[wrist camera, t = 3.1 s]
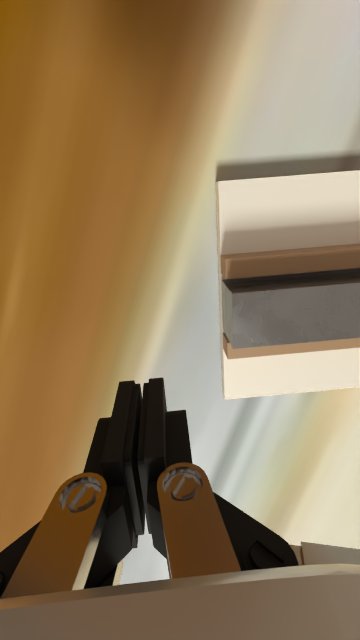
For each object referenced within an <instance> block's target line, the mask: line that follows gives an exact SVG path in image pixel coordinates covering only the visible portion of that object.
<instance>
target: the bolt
mask: <svg viewBox="0 0 360 640" xmlns="http://www.w3.org/2000/svg"><path fill="white" fill-rule="evenodd" d="M221 285H222V320H223V330H224V332H225V334H226V336H227V338H228V340H229V342H230V344H231V346H232V348H233V349H240V348H251V347H262V346H273V345H284V344H296V343H307V342H318V341H329V340H340V339H351V338H360V268H357V269H345V270H334V271H322V272H310V273H298V274H286V275H275V276H263V277H251V278H239V279H228V280H221Z"/></svg>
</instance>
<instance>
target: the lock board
mask: <svg viewBox="0 0 360 640" xmlns="http://www.w3.org/2000/svg"><path fill="white" fill-rule="evenodd" d="M216 212H217V243H218V274H219V306H220V337H221V369H222V393H223V396H224V399H225V400H226V399H237V398H248V397H259V396H269V395H280V394H291V393H302V392H313V391H323V390H334V389H345V388H356V387H360V338H351V339H340V340H329V341H318V342H307V343H296V344H284V345H273V346H262V347H251V348H240V349H233V348H232V346H231V344H230V342H229V340H228V338H227V336H226V334H225V332H224V330H223V320H222V285H221V280H228V279H239V278H251V277H263V276H275V275H286V274H298V273H310V272H322V271H334V270H345V269H357V268H360V170H356V171H343V172H330V173H318V174H305V175H292V176H279V177H267V178H254V179H241V180H228V181H218V182H216Z"/></svg>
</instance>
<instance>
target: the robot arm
mask: <svg viewBox="0 0 360 640" xmlns="http://www.w3.org/2000/svg"><path fill="white" fill-rule="evenodd" d="M145 513H146V519H147V526H148V532H149V534H152V539H153V546H154V548H156V549H157V550H158V551H159V552H160V553H161V554H162V555H163V556H164V557H165V558H166V559H167V565H168V571H169V577H170V579H167V580H158V581H149V582H140V583H132V584H123V585H119V582H120V578H121V574H122V568H123V560H122V559H123V558H124V557H125V556H126V555H127V554H128V553H129V552H130V551H131V550H132V548H137V543H138V535H144V527H145ZM0 640H360V549H353V548H345V547H338V546H330V545H322V544H315V543H307V542H301V546H295V545H289V544H288V543H287V542H286V541H285V540H284V539H283V538H281V537H280V536H279V535H277V534H276V533H274V532H273V531H271V530H270V529H268V528H267V527H265V526H264V525H262V524H261V523H259V522H258V521H256V520H255V519H253V518H252V517H250V516H249V515H247V514H246V513H244V512H243V511H241V510H240V509H238V508H237V507H235V506H234V505H232V504H231V503H229V502H228V501H226V500H225V499H223V498H222V497H220V496H219V495H217V494H216V493H214V492H213V491H212V488H211V486H210V483H209V480H208V477H207V475H206V474H205V472H204V471H203V470H202V469H201V468H200V467H199V466H197V465H194V464H192V457H191V449H190V441H189V433H188V425H187V417H186V410H179V411H169V412H167V408H166V398H165V389H164V380H163V378H154V379H149V383H144V386H143V397H142V394H141V387H140V384H135V382H134V380H133V381H123V382H119V386H118V390H117V394H116V399H115V403H114V408H113V412H112V416H111V417H109V418H100V419H99V421H98V423H97V427H96V430H95V434H94V437H93V441H92V444H91V448H90V451H89V455H88V458H87V462H86V465H85V469H84V472H83V473H81V474H78V475H76V476H73V477H72V478H70V479H68V480H67V481H66V482H65V483H63V484H62V485H61V486H60V488H59V489H58V491H57V492H56V494H55V495H54V497H53V499H52V501H51V503H50V505H49V507H48V509H47V511H46V513H45V514H44V516H43V518H42V520H41V521H40V522H39V523H37V524H36V525H35V526H34V527H32V528H31V529H30V530H28V531H27V532H26V533H25V534H23V535H22V536H21V537H19V538H18V539H17V540H16V541H14V542H13V543H12V544H10V545H9V546H8V547H7V548H5V549H4V550H3V551H2V552H0Z"/></svg>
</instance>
